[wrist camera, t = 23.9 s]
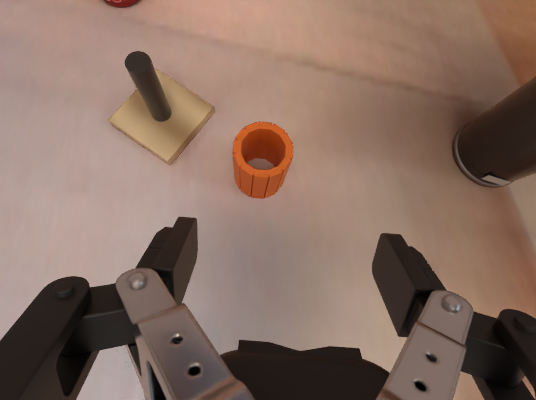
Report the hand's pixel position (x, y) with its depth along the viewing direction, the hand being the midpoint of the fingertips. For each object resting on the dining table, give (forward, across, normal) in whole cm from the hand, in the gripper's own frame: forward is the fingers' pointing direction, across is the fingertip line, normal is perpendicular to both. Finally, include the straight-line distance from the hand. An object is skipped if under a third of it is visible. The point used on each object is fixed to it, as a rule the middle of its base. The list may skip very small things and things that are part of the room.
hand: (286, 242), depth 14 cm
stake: (+30, +14, +2) cm, 33 cm away
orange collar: (+26, +2, +7) cm, 27 cm away
